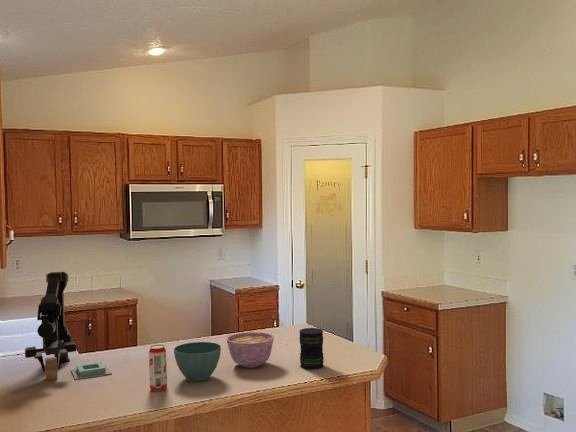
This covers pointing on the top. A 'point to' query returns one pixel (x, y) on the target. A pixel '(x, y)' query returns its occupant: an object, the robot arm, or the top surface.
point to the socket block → (90, 370)
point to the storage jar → (311, 348)
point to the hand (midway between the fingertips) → (51, 371)
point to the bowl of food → (250, 348)
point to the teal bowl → (197, 359)
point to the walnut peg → (51, 368)
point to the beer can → (157, 368)
